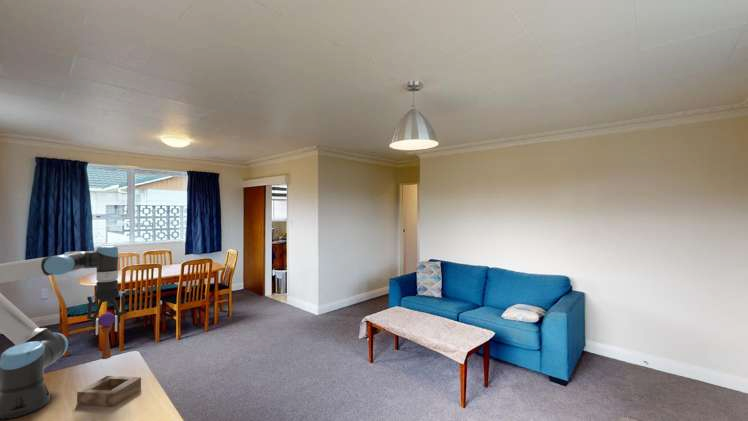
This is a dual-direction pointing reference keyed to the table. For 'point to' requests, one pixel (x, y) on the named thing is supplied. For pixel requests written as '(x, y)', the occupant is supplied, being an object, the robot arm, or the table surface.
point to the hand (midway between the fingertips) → (106, 332)
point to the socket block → (103, 397)
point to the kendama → (106, 332)
